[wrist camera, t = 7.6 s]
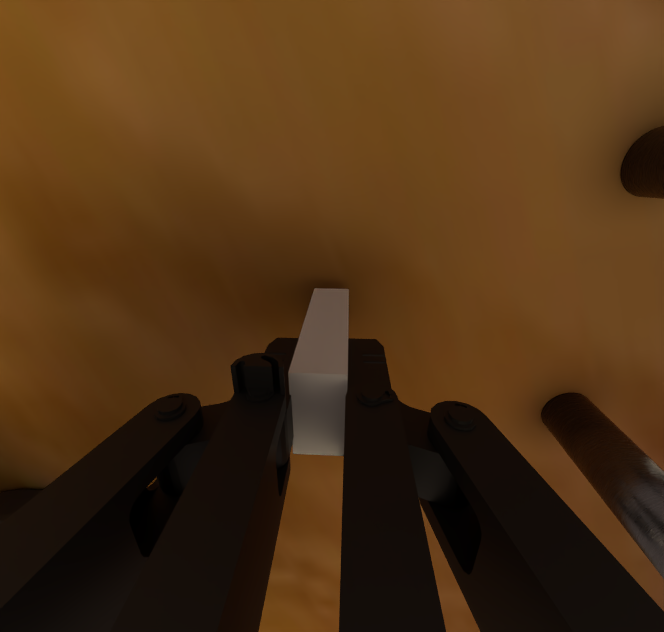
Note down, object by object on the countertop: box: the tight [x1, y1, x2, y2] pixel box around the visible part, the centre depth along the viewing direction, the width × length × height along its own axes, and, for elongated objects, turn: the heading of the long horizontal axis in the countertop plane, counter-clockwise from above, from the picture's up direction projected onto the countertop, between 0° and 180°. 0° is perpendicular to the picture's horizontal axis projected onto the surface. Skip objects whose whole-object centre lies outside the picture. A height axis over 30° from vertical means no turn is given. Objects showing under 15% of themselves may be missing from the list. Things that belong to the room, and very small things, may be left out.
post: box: [542, 393, 664, 578], centre depth 14 cm, size 3×3×9 cm
